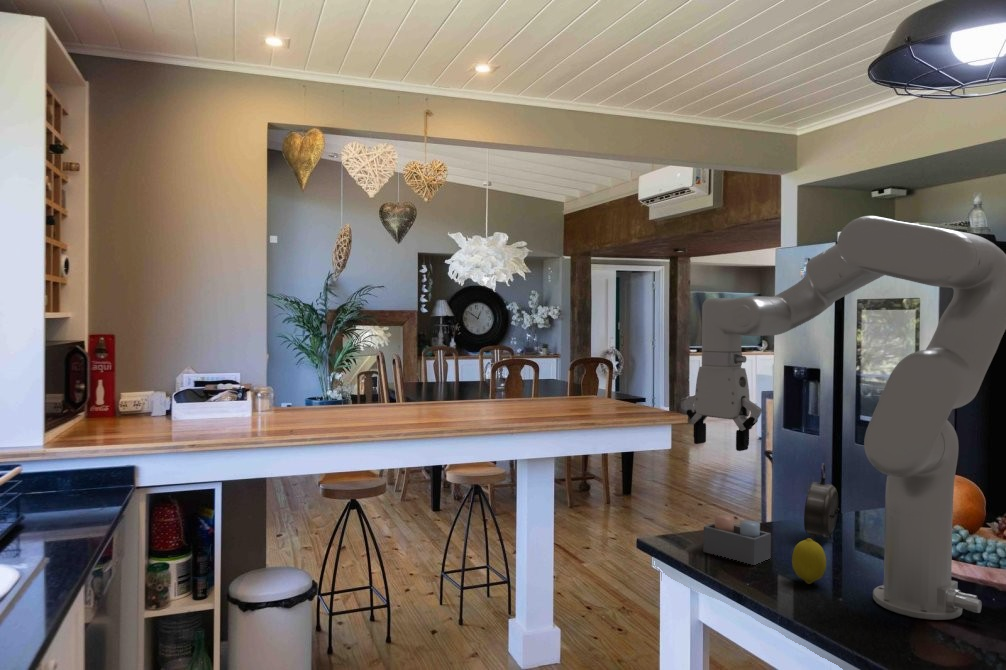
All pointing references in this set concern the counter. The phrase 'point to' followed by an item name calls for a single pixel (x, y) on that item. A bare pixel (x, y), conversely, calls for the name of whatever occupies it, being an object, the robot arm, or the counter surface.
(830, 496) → the alarm clock
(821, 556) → the lemon
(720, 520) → the peach rounded cube
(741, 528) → the pale blue cube
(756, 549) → the grey storage bin
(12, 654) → the counter surface
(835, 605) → the counter surface
